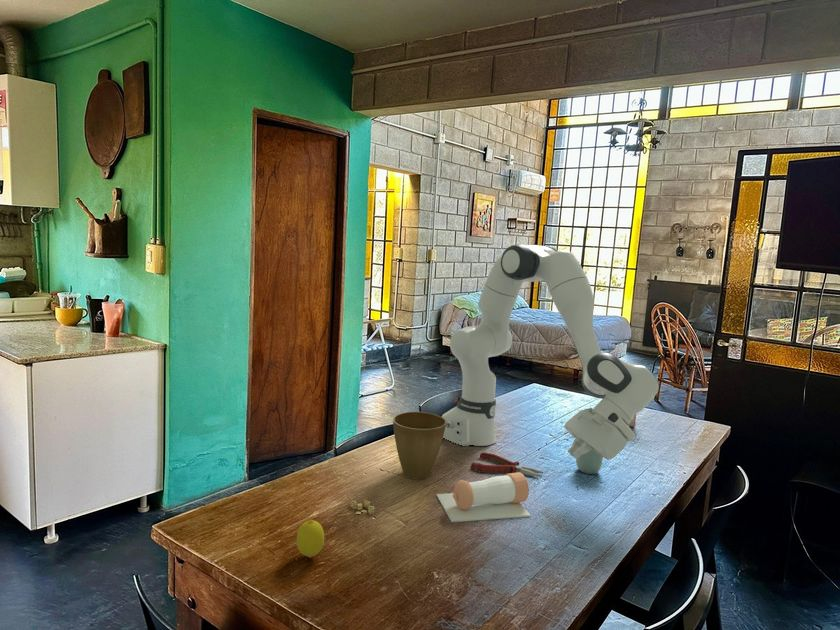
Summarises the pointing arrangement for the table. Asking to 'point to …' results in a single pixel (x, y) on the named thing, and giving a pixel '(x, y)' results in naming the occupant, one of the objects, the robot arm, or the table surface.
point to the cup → (589, 462)
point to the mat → (480, 510)
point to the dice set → (366, 505)
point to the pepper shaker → (491, 491)
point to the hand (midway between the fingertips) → (571, 455)
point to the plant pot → (418, 441)
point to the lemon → (310, 538)
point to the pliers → (502, 466)
